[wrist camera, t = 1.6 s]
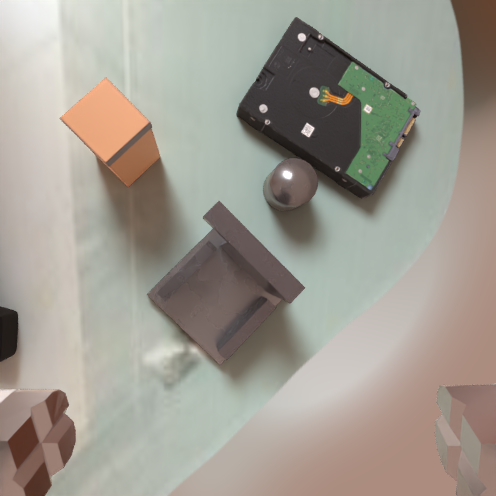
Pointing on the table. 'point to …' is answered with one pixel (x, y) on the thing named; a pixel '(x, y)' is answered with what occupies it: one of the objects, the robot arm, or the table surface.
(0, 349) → the sign
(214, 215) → the keeper
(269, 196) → the link stub
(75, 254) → the table surface
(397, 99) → the disk drive
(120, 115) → the orange tall block
